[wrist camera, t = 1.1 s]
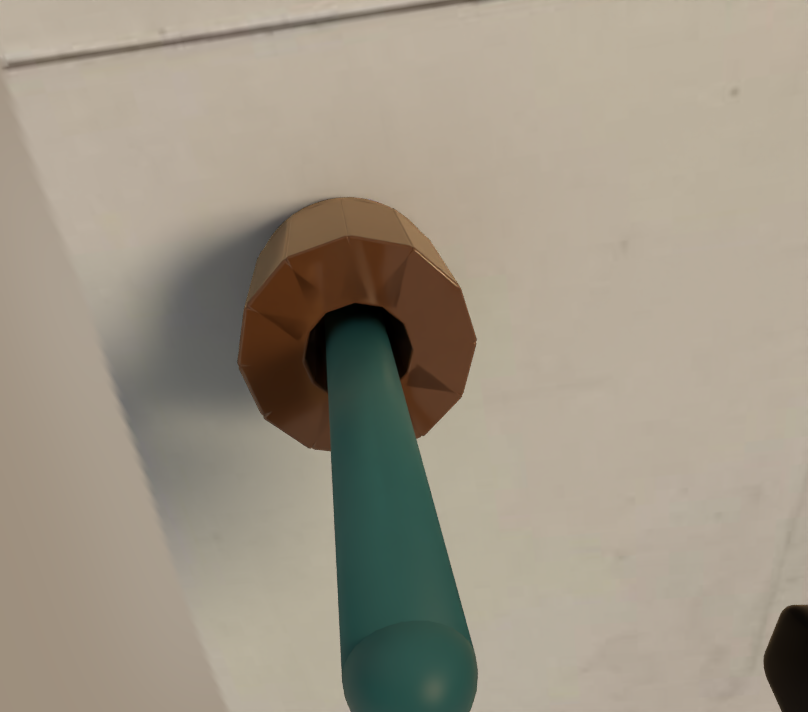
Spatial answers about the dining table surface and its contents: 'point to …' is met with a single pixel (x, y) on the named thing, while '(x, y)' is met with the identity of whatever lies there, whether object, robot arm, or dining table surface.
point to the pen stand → (341, 286)
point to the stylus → (388, 537)
